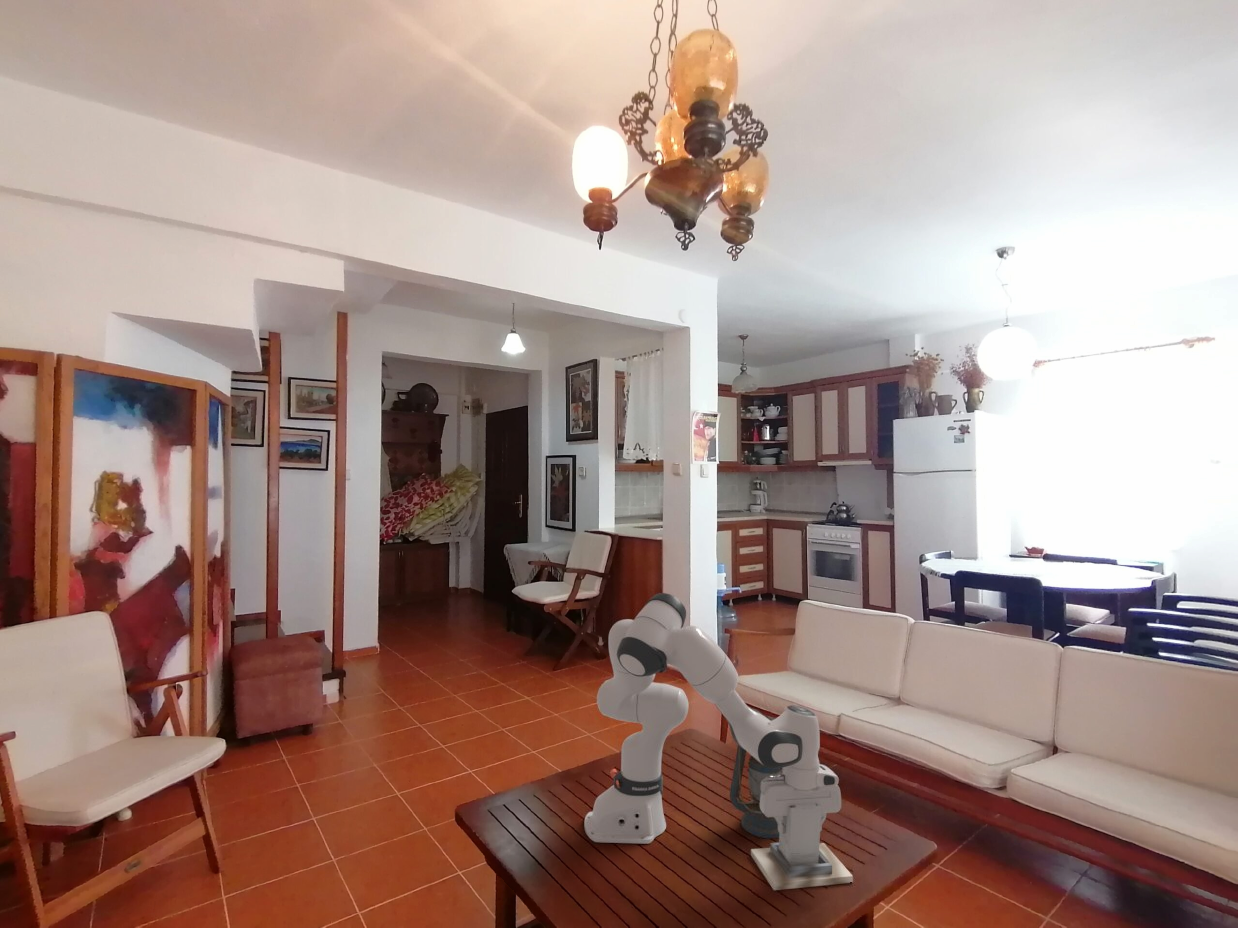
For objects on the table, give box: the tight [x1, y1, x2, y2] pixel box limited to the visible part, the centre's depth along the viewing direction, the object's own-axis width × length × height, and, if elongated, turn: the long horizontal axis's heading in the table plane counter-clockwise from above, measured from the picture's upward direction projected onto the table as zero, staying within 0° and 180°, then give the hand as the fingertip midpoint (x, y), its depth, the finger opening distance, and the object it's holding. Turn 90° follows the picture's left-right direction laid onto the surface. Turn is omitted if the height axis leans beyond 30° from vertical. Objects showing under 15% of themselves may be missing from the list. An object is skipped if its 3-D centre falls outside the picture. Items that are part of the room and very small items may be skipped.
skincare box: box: [778, 804, 822, 866], centre depth 155 cm, size 8×6×15 cm
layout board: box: [750, 841, 854, 891], centre depth 155 cm, size 20×14×4 cm
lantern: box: [729, 714, 782, 839], centre depth 174 cm, size 19×14×30 cm
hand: (800, 830), depth 155 cm, fingers closed on skincare box, 8 cm apart
